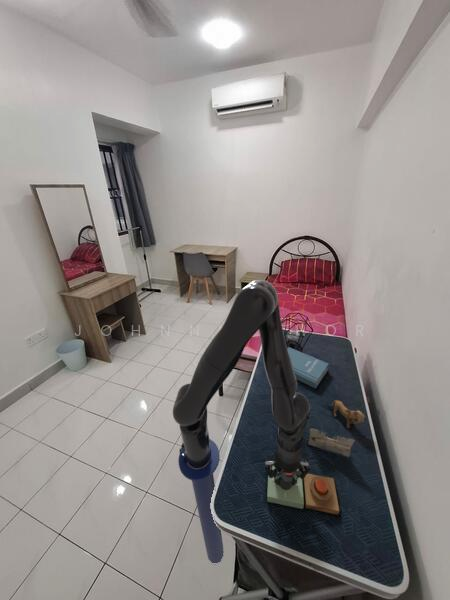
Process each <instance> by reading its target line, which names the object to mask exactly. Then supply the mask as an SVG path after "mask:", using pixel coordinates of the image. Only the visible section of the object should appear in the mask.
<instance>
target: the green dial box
mask: <svg viewBox="0 0 450 600" xmlns="http://www.w3.org/2000/svg"><path fill="white" fill-rule="evenodd" d="M274 469H275V467H274V466H272V470H274ZM298 470H299V469H298ZM298 470H297V471H298ZM266 495H267V497H266V502H268V503H272V504H276V505H277V504H278V505H282V506H285V507H286V506H287V507H291V508H295V509H301V510H303V509H304V507H305V497H304V483H303V479H301V478H298V480H297V484H295V486H294V485H292V487H291V488H290V489H289V490H284V489H282V488H281V487H280V485H277V484H276V483H275V482H274V477H273V478H270V477H269V475H268V474H267V493H266Z"/></svg>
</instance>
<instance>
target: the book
mask: <svg viewBox="0 0 450 600" xmlns="http://www.w3.org/2000/svg"><path fill="white" fill-rule="evenodd" d="M287 349H288V353H289V356H290V359H291V363H292V366H293V369H294V372H295V376H296V379H297V381H299V382H301V383H303V384H304V385H305V384H306V385H307V386H308V387H311V388H313V389H317V387H319V384H321V382H322V380H323V378H324V377H325V376H326V374H327V372H328V371H329V369H328V366H329V365H330V364H329V363H328V362H326V361H324V360H321V359H318V358H316V357H314V356H311V355H309V354H307V353H304V352H302V351H299V350H297V349H294V348H292V347H290V346H288V347H287Z"/></svg>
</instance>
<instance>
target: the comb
mask: <svg viewBox="0 0 450 600" xmlns="http://www.w3.org/2000/svg"><path fill="white" fill-rule="evenodd" d="M326 434H327V432H325V431H324V432H323V431H320V430H318V429H316V428H312V427H311V428H309V439H308V443H307V445H308V446H312V447H316V448H318V449H321V450H325V451H330V452H333V453H335V454H339V455H342V456H345V457H347V458H351V450H352V447H353V445H354V443H355V441H356V440H355V439H354V438H346V437H342V436H340V435H336V439H335V438H331V437H328V435H327V436H326Z"/></svg>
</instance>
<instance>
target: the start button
mask: <svg viewBox="0 0 450 600" xmlns="http://www.w3.org/2000/svg"><path fill="white" fill-rule="evenodd" d="M315 489H316V491H317V492H318V493H319V494H321V495H325V494H326V493H327V490H328V486H327V483H326V482H325V481H324V480H322V479H318V480H317V481H316V483H315Z"/></svg>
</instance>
